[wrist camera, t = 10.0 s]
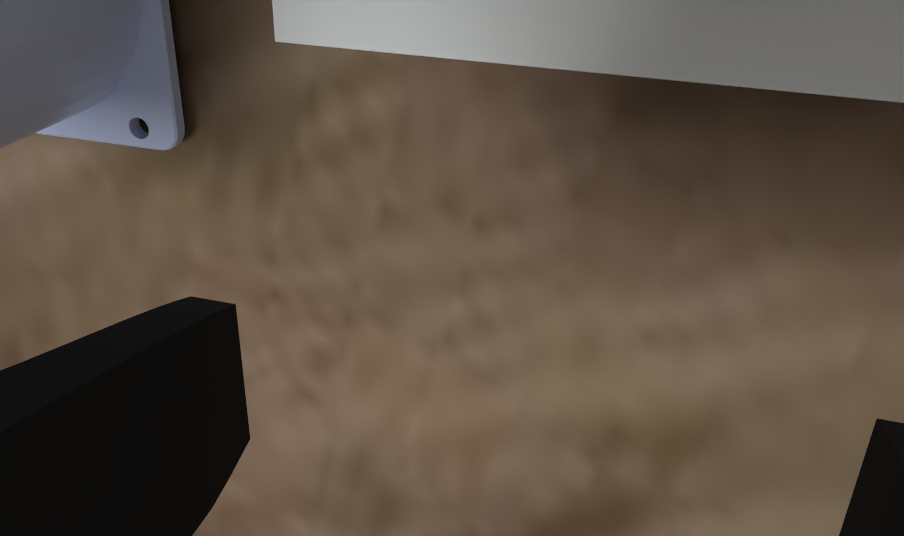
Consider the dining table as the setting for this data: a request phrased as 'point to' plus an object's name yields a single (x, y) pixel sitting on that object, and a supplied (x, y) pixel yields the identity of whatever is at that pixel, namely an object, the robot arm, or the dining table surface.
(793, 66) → the wooden frame
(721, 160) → the dining table surface
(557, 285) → the dining table surface
